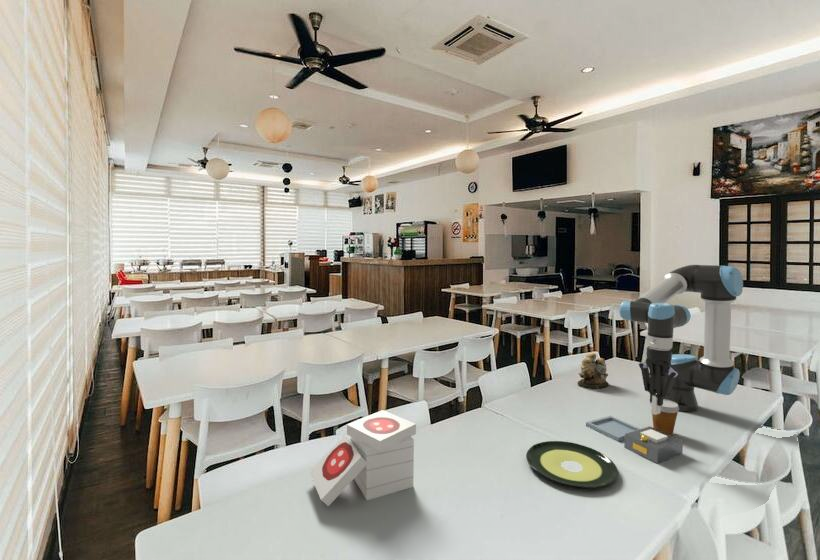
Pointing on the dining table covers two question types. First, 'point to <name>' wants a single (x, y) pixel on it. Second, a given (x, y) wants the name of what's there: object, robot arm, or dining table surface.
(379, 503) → the dining table surface
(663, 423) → the disposable coffee cup
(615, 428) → the tray
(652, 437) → the button
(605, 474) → the plate
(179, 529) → the dining table surface
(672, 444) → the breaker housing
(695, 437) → the dining table surface
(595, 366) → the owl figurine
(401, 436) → the pizza boxes
